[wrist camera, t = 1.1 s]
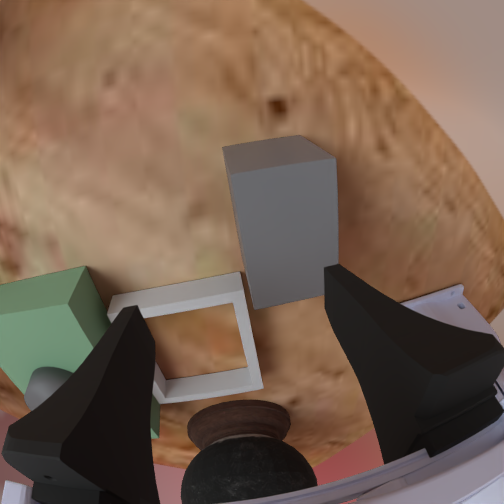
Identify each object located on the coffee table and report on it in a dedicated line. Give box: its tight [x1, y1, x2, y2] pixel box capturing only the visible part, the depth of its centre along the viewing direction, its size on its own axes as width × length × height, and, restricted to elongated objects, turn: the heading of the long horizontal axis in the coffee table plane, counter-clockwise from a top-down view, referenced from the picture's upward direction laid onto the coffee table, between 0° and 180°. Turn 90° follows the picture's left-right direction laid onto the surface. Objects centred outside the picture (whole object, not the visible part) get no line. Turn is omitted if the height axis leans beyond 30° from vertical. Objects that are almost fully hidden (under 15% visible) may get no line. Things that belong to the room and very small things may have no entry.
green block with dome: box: [0, 266, 263, 439], centre depth 21 cm, size 20×16×6 cm
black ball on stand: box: [181, 400, 318, 504], centre depth 25 cm, size 13×13×15 cm
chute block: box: [222, 135, 338, 310], centre depth 17 cm, size 4×7×6 cm, turn 8°
